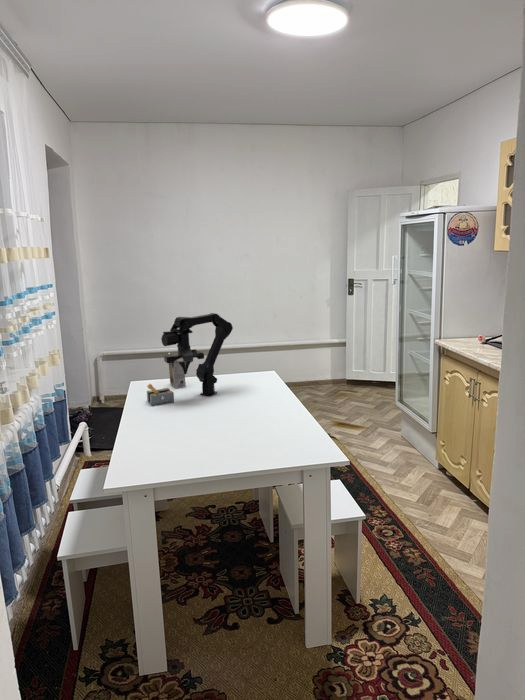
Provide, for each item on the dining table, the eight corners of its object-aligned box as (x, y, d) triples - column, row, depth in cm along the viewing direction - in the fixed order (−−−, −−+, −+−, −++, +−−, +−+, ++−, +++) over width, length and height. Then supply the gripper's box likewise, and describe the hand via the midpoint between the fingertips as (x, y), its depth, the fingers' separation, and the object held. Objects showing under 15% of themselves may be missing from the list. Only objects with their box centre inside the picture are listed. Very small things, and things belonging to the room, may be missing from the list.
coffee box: (169, 384, 287) (167, 356, 284) (181, 383, 290) (179, 354, 286) (174, 388, 279) (172, 359, 276) (186, 387, 282) (184, 357, 278)
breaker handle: (161, 393, 258) (149, 383, 255) (162, 394, 256) (151, 384, 253) (158, 396, 258) (146, 386, 255) (159, 398, 256) (147, 387, 252)
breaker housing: (169, 397, 264) (168, 387, 263) (174, 402, 256) (173, 392, 255) (147, 400, 260) (146, 390, 259) (152, 406, 251) (151, 395, 250)
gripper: (169, 348, 243) (171, 380, 246) (207, 343, 251) (208, 375, 254) (162, 344, 253) (165, 375, 256) (199, 339, 261) (201, 370, 264)
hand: (185, 374), depth 257 cm, fingers closed
